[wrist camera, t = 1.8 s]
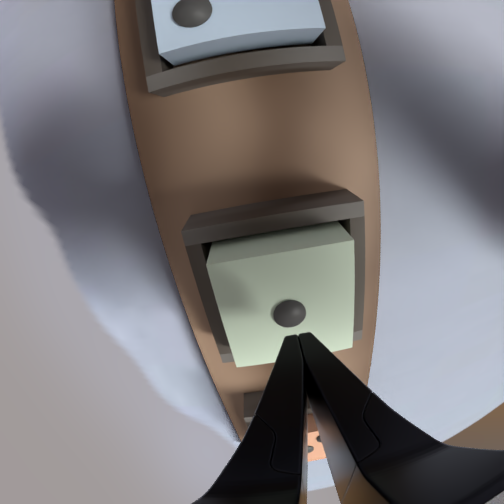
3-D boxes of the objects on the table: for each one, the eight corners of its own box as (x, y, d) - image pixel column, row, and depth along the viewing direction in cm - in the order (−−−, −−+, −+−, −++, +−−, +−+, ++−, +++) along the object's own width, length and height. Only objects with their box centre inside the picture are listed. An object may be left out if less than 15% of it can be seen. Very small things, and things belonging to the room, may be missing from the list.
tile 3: (337, 400, 16) (344, 426, 14) (334, 434, 18) (339, 456, 16) (260, 413, 16) (261, 440, 14) (270, 445, 18) (271, 467, 16)
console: (312, -71, 7) (324, -100, 4) (354, 424, 21) (362, 451, 19) (119, -38, 7) (96, -62, 4) (246, 443, 22) (246, 470, 19)
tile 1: (337, 220, 11) (355, 241, 9) (340, 319, 13) (352, 349, 11) (212, 241, 11) (205, 266, 9) (237, 337, 13) (236, 369, 12)
